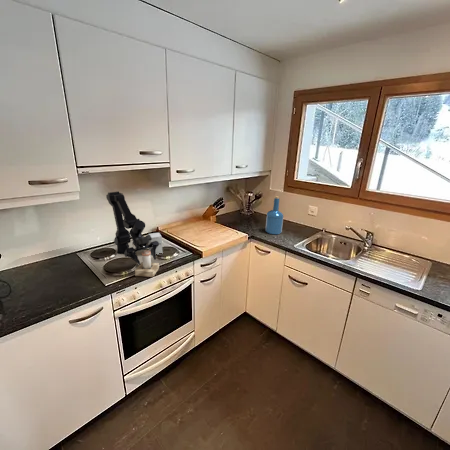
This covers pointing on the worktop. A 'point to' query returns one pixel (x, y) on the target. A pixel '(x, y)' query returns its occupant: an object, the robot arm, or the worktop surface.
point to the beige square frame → (147, 270)
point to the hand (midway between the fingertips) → (147, 262)
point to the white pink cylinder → (146, 259)
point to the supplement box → (156, 238)
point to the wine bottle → (274, 219)
